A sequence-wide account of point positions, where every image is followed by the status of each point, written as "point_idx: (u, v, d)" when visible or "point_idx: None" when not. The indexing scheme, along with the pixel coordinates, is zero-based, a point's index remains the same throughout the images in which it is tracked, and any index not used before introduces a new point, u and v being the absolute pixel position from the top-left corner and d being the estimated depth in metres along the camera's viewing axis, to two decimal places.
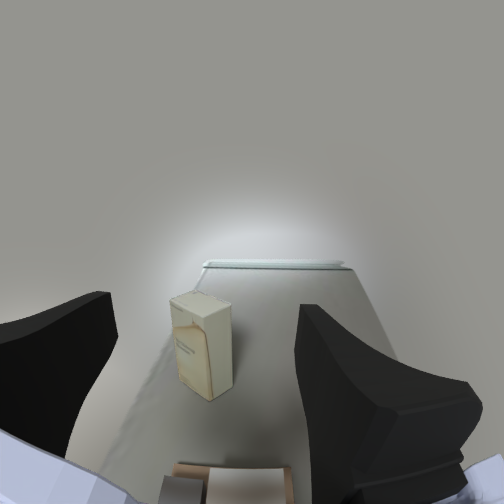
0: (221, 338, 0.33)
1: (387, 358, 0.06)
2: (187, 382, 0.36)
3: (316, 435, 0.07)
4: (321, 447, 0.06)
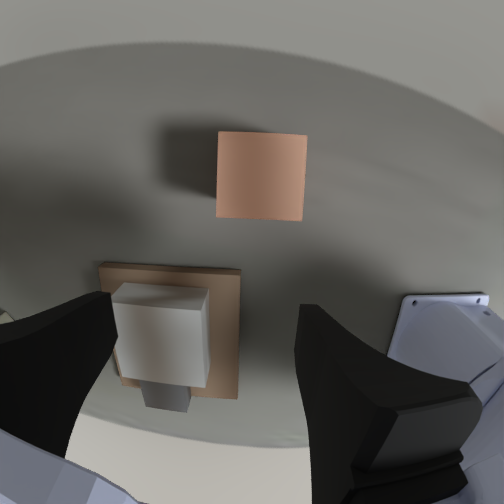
0: None
1: (387, 358, 0.06)
2: None
3: (316, 435, 0.07)
4: (321, 447, 0.06)
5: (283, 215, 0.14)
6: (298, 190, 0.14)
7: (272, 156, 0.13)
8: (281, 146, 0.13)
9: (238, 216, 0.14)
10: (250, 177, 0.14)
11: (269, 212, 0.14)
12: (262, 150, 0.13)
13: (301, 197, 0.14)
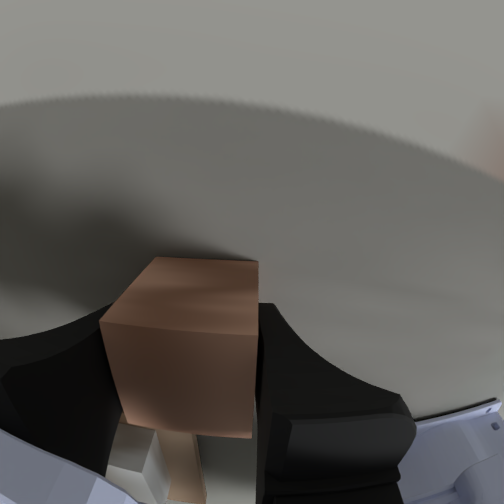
0: None
1: (323, 361, 0.06)
2: None
3: (258, 436, 0.07)
4: (259, 448, 0.06)
5: (222, 432, 0.08)
6: (244, 409, 0.08)
7: (194, 366, 0.07)
8: (209, 352, 0.07)
9: (157, 427, 0.08)
10: (164, 390, 0.07)
11: (200, 428, 0.08)
12: (175, 357, 0.07)
13: (249, 416, 0.08)
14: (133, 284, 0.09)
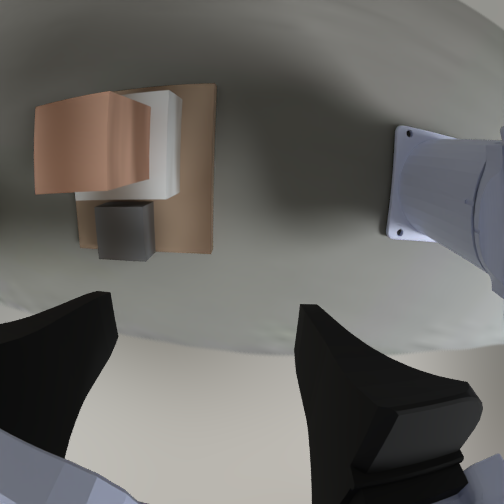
0: None
1: (387, 358, 0.06)
2: None
3: (316, 435, 0.07)
4: (321, 447, 0.06)
5: (88, 186, 0.11)
6: (101, 155, 0.10)
7: (76, 121, 0.10)
8: (84, 108, 0.10)
9: (51, 191, 0.11)
10: (58, 148, 0.10)
11: (76, 184, 0.11)
12: (67, 117, 0.10)
13: (104, 162, 0.10)
14: None
